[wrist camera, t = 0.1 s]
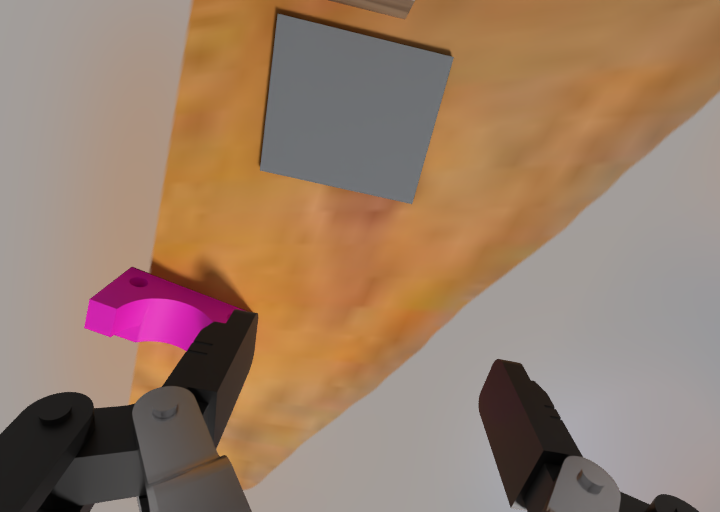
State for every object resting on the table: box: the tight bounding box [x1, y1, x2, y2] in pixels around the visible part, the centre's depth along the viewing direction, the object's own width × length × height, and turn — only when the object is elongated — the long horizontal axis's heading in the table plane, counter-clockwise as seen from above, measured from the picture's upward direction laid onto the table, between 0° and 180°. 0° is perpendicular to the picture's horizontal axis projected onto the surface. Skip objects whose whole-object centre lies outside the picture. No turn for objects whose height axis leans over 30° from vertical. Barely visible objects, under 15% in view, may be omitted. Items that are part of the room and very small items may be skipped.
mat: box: [260, 14, 454, 204], centre depth 38 cm, size 14×16×1 cm
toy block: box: [84, 267, 245, 351], centre depth 44 cm, size 15×6×8 cm, turn 66°
